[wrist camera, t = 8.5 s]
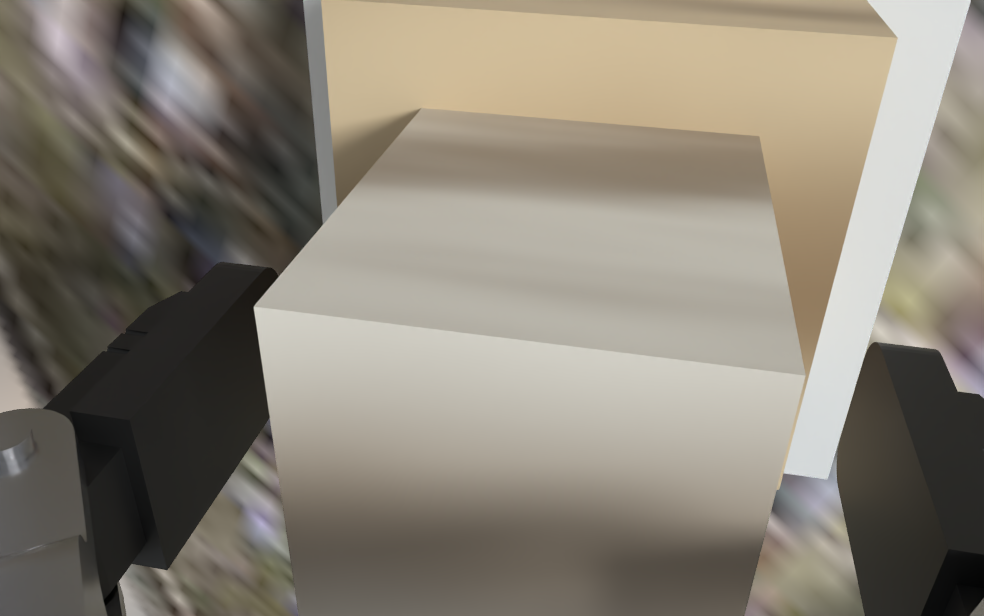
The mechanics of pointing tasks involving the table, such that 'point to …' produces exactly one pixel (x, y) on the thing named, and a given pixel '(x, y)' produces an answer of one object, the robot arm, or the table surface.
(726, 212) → the maple cube
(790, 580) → the table surface
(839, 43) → the oak base block
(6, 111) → the table surface
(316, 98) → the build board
